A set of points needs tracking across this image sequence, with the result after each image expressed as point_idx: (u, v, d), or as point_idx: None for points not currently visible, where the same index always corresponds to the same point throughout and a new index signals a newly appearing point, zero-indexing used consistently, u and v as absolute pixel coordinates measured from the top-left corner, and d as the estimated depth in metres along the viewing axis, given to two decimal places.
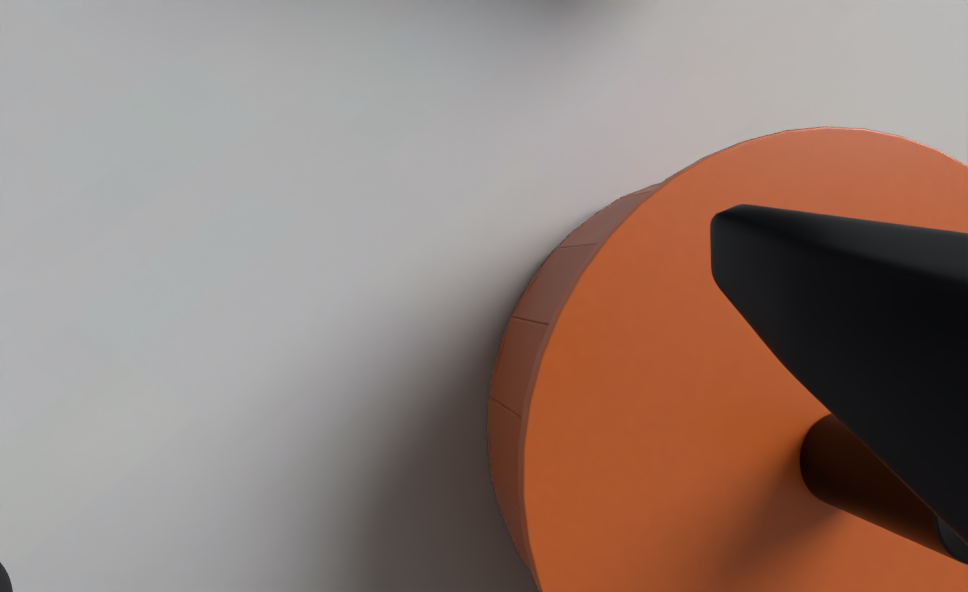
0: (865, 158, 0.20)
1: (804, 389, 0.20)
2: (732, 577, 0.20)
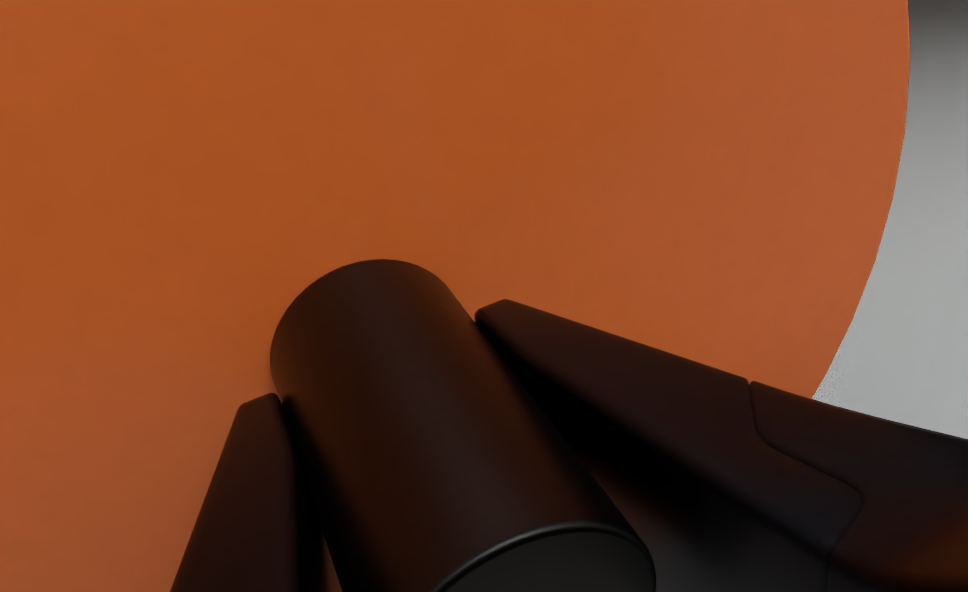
0: None
1: (190, 345, 0.09)
2: None
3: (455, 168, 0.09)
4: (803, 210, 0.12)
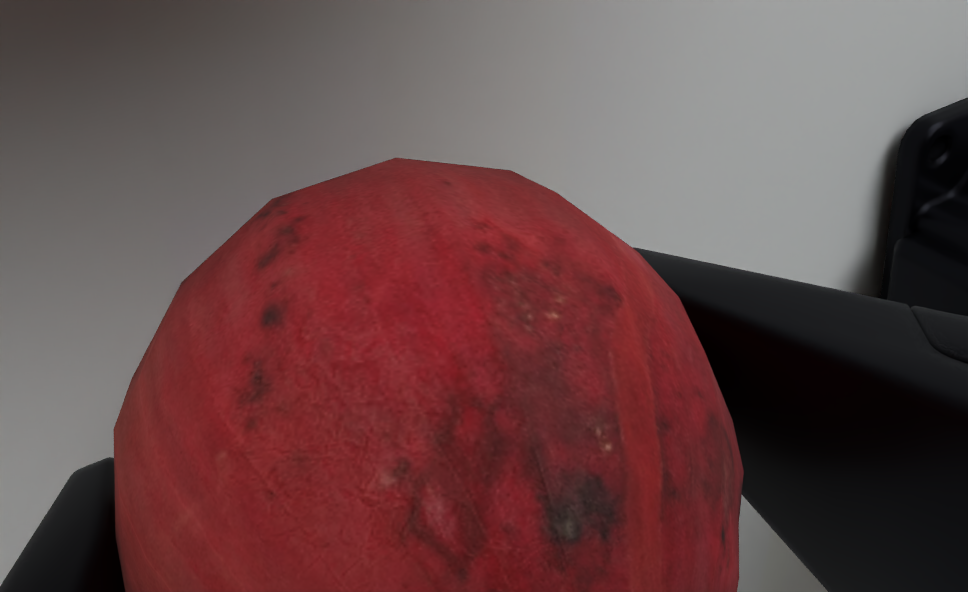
0: None
1: None
2: None
3: None
4: None
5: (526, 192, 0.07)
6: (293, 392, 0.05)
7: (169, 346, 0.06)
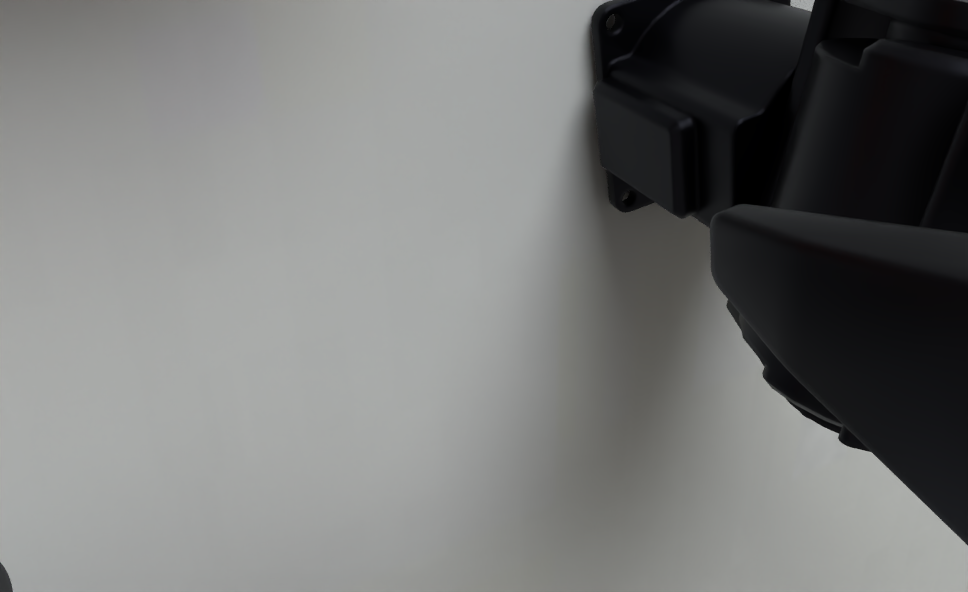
0: None
1: None
2: None
3: None
4: None
5: None
6: None
7: None
